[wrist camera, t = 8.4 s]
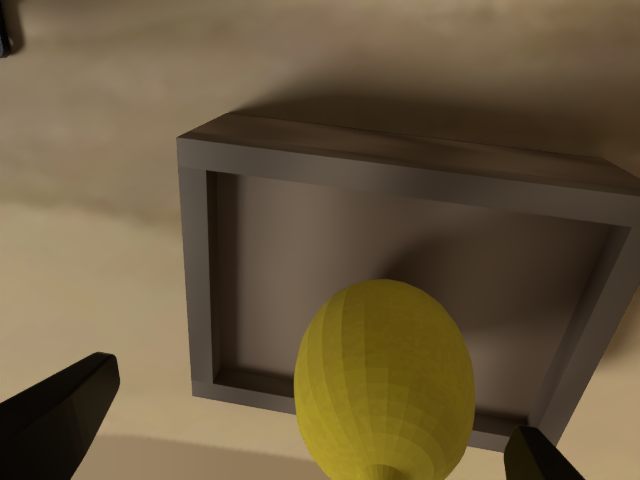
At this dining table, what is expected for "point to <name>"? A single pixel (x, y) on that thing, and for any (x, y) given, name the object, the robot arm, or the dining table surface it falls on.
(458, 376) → the lemon
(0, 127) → the dining table surface
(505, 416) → the wooden tray
